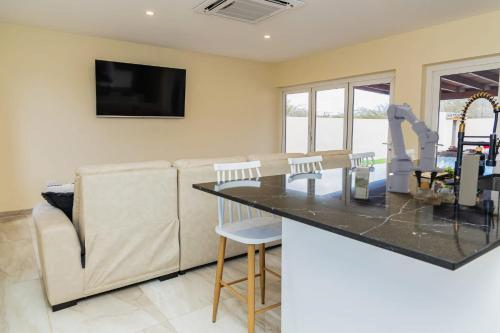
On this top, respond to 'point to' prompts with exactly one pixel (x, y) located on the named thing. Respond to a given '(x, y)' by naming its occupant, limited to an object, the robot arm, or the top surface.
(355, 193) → the syrup box
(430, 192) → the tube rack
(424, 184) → the ball orange
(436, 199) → the stand
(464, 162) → the paper towel roll
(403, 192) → the robot arm
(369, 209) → the top surface
